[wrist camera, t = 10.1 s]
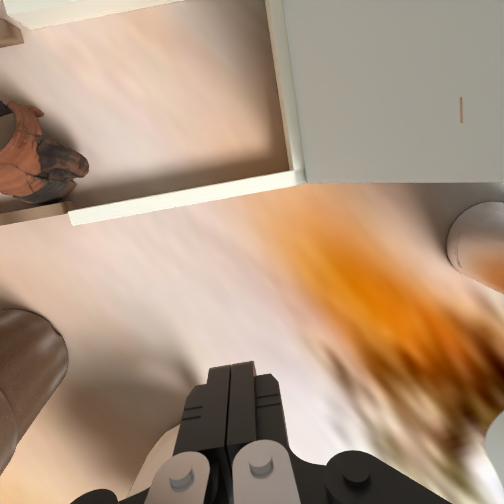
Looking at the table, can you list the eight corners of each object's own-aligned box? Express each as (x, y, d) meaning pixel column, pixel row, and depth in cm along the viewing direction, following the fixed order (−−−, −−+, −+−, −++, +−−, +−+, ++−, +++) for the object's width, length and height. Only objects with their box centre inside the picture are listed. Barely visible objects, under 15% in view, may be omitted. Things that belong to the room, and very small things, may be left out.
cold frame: (347, -50, 33) (844, -1087, 6) (367, 169, 38) (685, 176, 11) (25, 13, 34) (-914, -650, 6) (87, 220, 39) (-292, 349, 11)
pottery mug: (10, 209, 39) (-68, 177, 31) (33, 135, 41) (-36, 87, 33) (103, 215, 36) (43, 181, 29) (122, 135, 39) (70, 83, 31)
